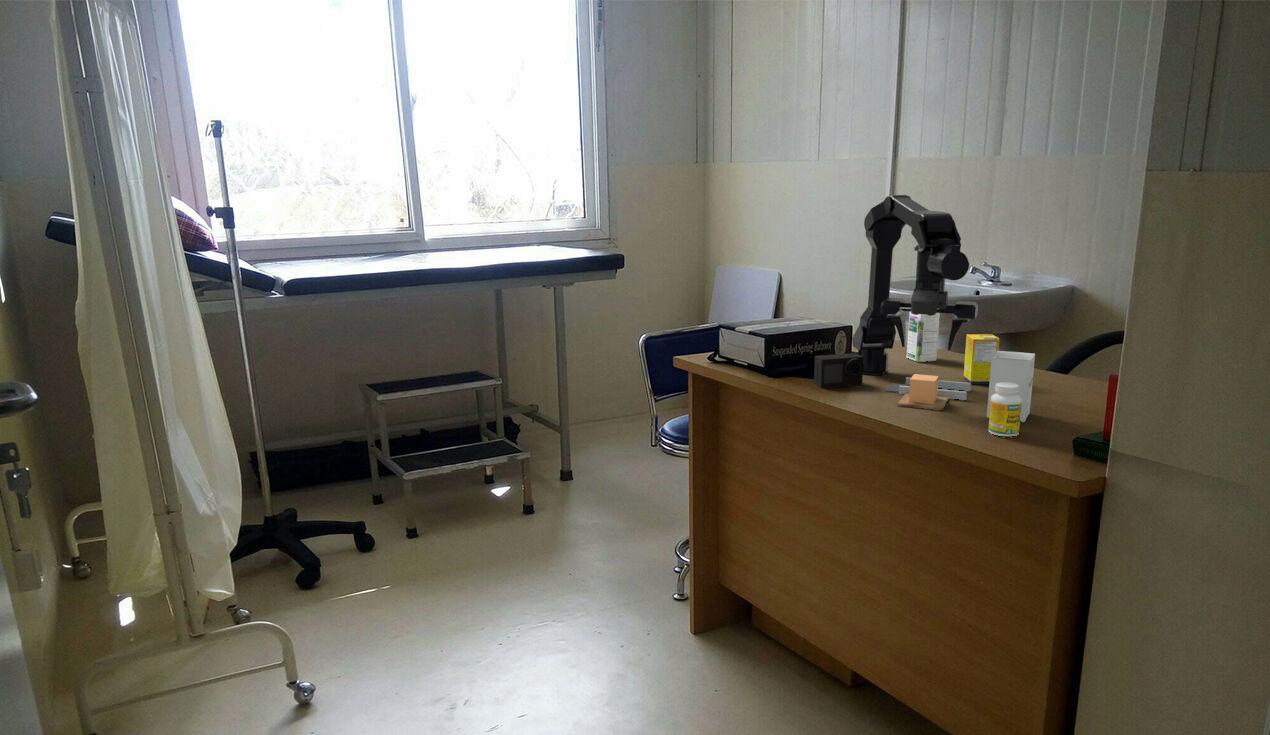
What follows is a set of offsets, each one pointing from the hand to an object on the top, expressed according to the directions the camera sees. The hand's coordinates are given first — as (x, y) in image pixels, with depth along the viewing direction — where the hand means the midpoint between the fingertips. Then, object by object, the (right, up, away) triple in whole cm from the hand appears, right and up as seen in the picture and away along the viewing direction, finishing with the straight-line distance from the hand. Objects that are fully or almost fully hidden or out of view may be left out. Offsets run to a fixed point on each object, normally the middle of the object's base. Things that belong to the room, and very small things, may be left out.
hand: (926, 348), depth 174 cm
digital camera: (-14, -8, +19) cm, 25 cm away
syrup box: (+14, -2, +43) cm, 45 cm away
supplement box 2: (+14, -14, -7) cm, 21 cm away
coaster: (0, -12, +3) cm, 12 cm away
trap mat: (-1, -9, +14) cm, 17 cm away
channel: (+6, -10, +11) cm, 16 cm away
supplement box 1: (+19, -8, +19) cm, 28 cm away
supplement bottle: (+8, -17, -19) cm, 26 cm away
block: (0, -11, +3) cm, 11 cm away
